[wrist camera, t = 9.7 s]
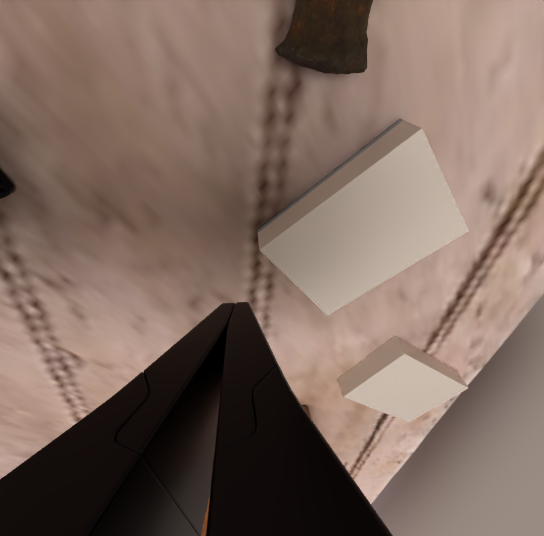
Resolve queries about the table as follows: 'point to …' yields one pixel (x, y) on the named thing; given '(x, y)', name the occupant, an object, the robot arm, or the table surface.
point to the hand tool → (328, 35)
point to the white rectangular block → (401, 381)
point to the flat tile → (365, 220)
